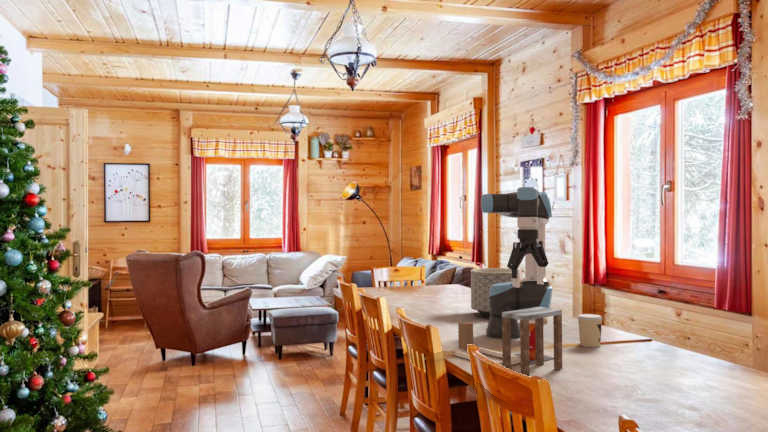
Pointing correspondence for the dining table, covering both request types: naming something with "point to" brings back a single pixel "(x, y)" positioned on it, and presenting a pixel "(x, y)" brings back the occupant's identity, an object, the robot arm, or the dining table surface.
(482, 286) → the planter
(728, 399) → the dining table surface
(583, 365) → the dining table surface
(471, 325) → the frame
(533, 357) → the coffee cup
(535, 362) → the coaster
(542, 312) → the small wooden stool
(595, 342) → the coffee cup
